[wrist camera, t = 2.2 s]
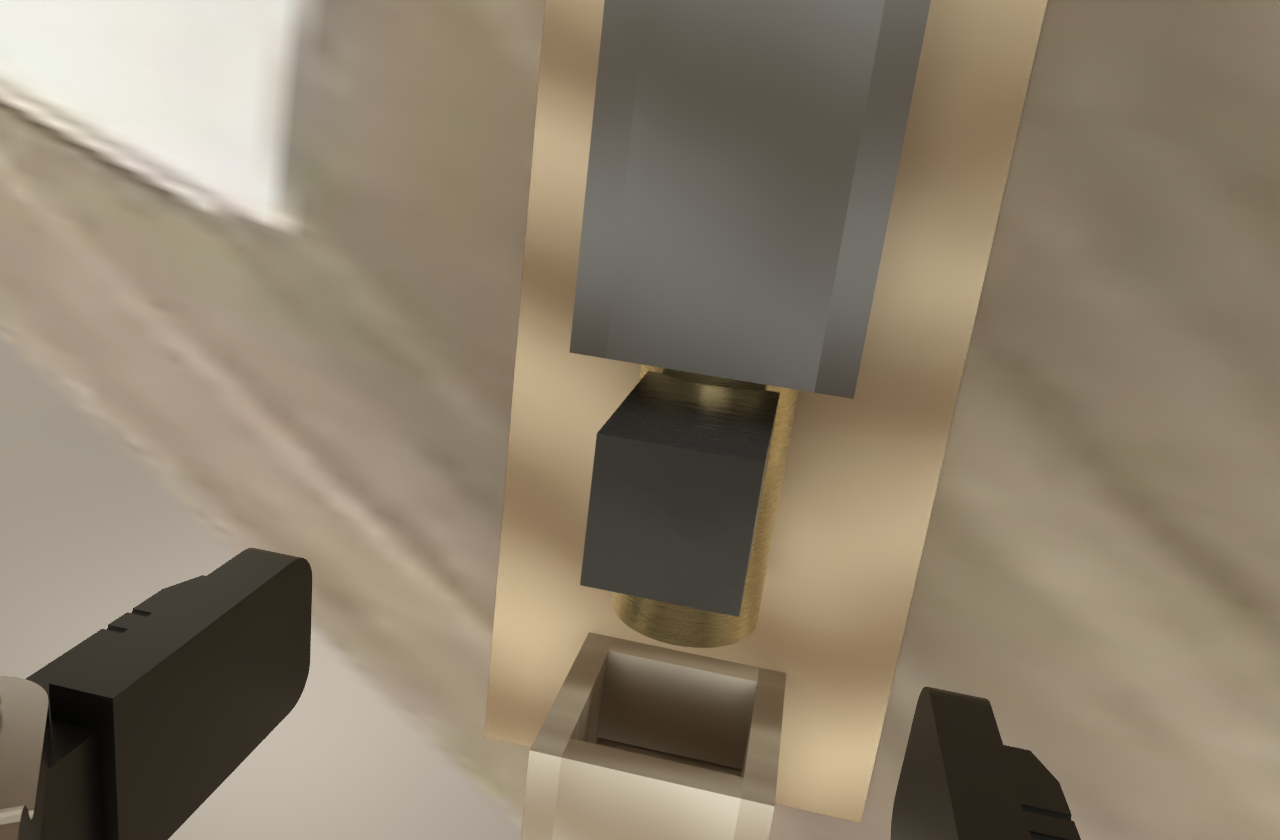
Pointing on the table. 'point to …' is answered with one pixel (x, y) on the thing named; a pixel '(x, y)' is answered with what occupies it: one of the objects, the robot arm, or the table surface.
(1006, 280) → the table surface
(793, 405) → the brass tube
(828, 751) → the tube stand
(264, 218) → the table surface
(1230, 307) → the table surface
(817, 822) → the table surface
